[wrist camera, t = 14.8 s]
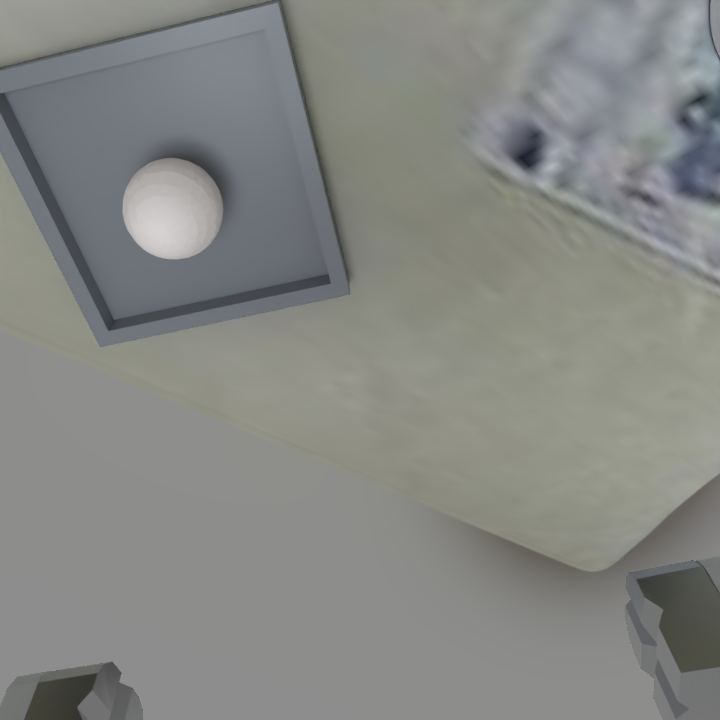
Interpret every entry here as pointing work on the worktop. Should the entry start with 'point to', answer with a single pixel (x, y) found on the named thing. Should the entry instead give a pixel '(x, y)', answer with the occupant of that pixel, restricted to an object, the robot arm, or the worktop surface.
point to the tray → (183, 141)
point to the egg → (172, 208)
